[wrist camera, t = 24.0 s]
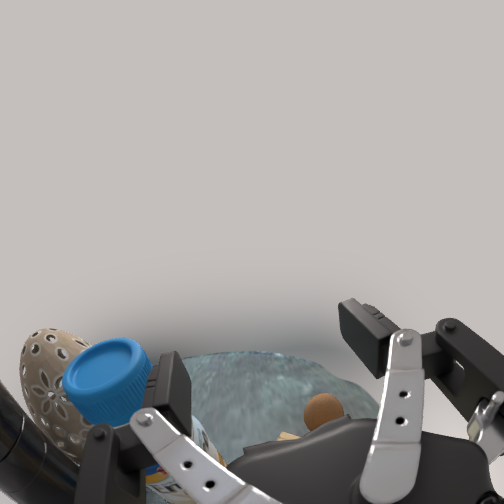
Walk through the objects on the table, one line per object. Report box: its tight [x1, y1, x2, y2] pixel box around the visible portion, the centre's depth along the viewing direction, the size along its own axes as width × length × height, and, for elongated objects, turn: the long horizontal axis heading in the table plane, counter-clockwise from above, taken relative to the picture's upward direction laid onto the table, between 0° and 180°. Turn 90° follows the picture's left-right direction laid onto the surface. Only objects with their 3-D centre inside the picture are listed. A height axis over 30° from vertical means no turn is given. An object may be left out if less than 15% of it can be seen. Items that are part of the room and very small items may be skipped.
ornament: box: [19, 329, 94, 464], centre depth 24 cm, size 15×15×20 cm
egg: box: [304, 393, 344, 431], centre depth 25 cm, size 4×4×6 cm
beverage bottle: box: [62, 338, 228, 504], centre depth 18 cm, size 8×8×20 cm
